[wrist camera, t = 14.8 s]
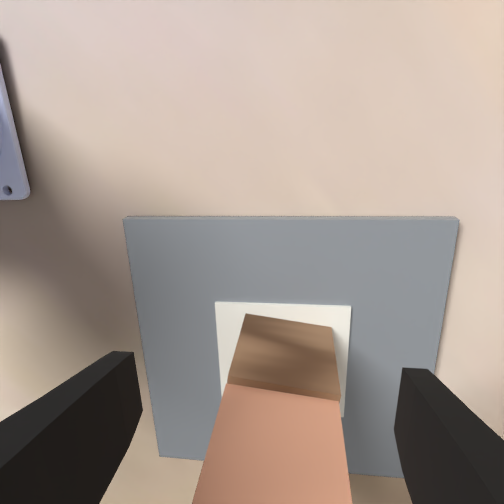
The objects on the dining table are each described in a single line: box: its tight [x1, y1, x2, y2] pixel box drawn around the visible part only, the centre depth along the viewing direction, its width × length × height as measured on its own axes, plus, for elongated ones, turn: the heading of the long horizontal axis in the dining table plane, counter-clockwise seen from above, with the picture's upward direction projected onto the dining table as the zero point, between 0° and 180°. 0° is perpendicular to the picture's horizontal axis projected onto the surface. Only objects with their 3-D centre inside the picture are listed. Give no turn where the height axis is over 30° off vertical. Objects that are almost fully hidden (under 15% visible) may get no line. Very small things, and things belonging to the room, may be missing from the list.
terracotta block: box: [192, 383, 352, 504], centre depth 13 cm, size 4×4×5 cm
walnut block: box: [227, 313, 341, 403], centre depth 18 cm, size 4×4×5 cm
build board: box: [123, 216, 459, 478], centre depth 20 cm, size 16×16×1 cm
